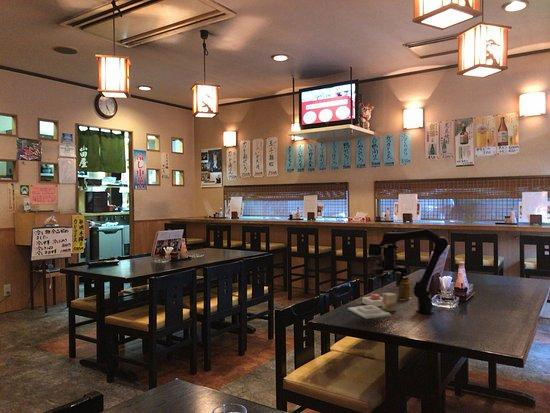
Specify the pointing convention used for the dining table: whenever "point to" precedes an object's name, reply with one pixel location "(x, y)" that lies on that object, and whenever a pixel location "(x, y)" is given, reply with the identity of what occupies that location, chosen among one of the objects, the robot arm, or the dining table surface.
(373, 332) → the dining table surface
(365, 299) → the button housing
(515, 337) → the dining table surface
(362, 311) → the tray
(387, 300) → the block
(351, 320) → the dining table surface
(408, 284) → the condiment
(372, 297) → the button
